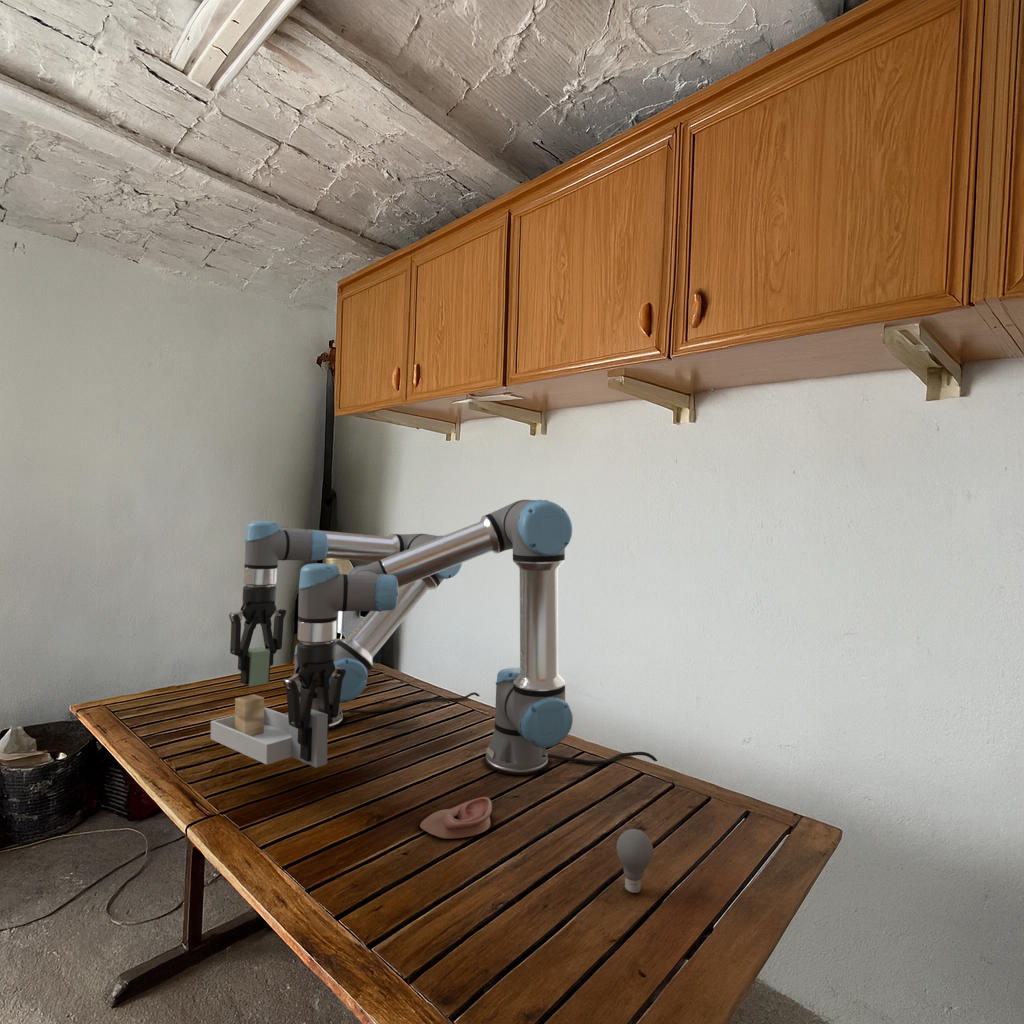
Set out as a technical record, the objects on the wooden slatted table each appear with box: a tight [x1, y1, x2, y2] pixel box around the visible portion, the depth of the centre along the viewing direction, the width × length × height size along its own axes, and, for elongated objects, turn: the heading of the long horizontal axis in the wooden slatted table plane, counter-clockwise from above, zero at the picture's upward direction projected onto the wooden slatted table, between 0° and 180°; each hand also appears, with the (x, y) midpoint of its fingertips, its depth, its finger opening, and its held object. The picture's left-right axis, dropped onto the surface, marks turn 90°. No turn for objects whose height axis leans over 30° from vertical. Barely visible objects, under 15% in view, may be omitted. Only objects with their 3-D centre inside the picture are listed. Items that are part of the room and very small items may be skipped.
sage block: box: [247, 646, 270, 687], centre depth 153 cm, size 4×4×8 cm
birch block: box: [234, 693, 265, 736], centre depth 143 cm, size 4×4×8 cm
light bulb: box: [615, 828, 654, 894], centre depth 106 cm, size 6×6×10 cm
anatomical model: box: [419, 796, 493, 840], centre depth 124 cm, size 13×4×12 cm
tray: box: [210, 707, 328, 769], centre depth 136 cm, size 32×13×10 cm, turn 51°
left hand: (254, 681), depth 153 cm, fingers closed on sage block, 4 cm apart
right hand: (312, 756), depth 128 cm, fingers closed on tray, 2 cm apart
